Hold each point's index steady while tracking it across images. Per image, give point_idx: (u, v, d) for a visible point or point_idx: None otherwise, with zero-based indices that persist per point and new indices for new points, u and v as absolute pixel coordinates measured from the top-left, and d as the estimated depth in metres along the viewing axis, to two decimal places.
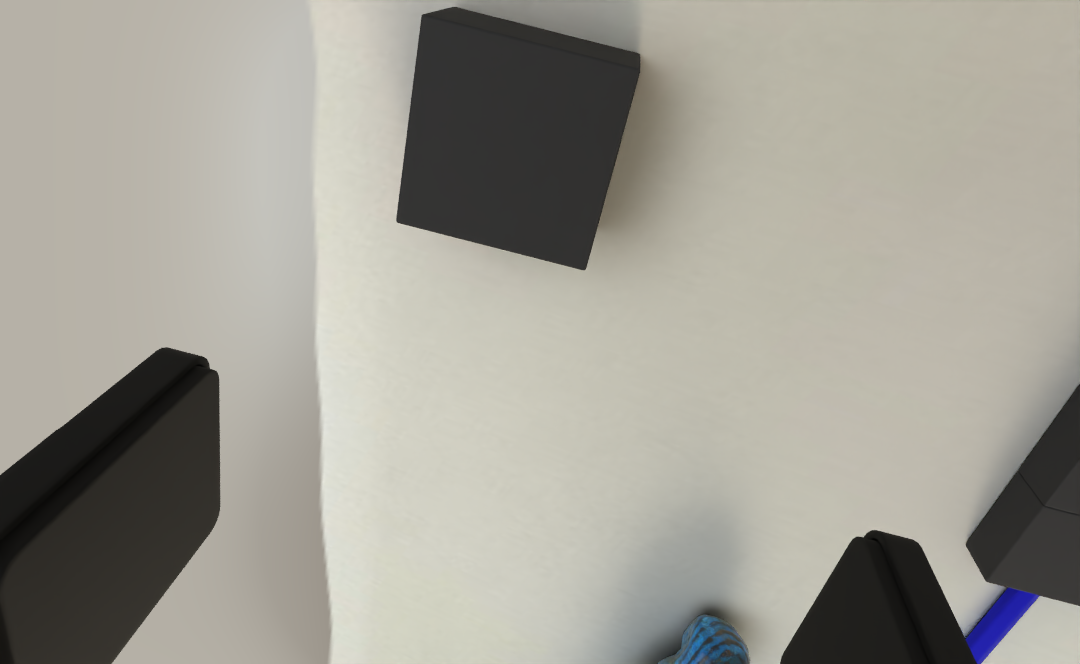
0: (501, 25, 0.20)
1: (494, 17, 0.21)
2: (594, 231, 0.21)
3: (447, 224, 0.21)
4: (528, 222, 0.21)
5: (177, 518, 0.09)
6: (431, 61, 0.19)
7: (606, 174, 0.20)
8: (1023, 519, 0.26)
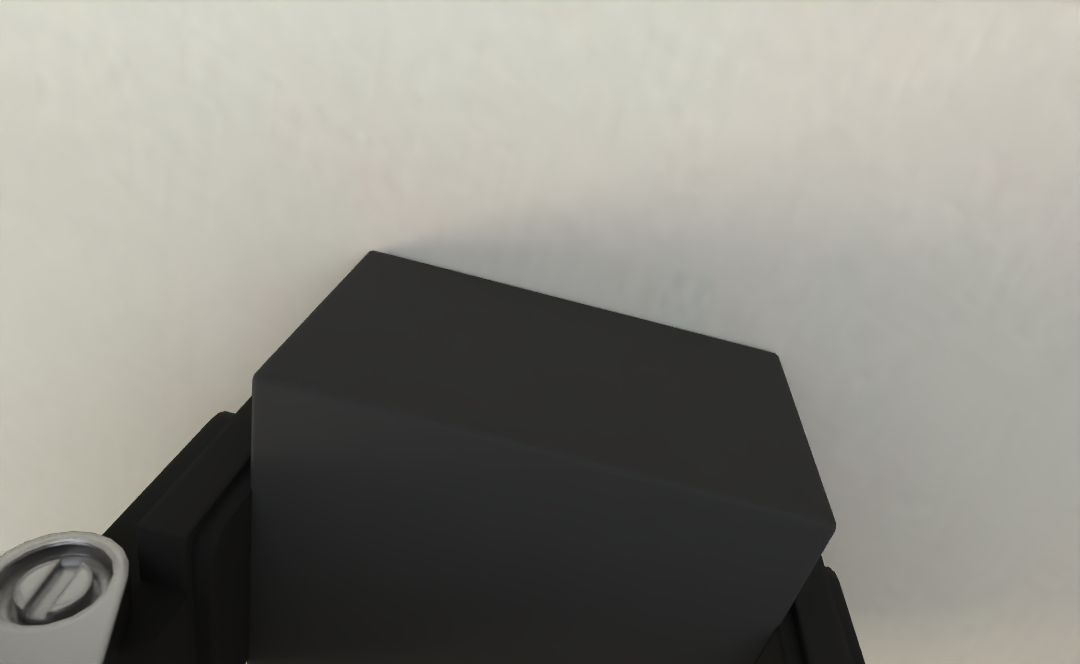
0: None
1: None
2: None
3: (280, 503, 0.08)
4: (329, 656, 0.09)
5: None
6: (714, 531, 0.07)
7: None
8: None
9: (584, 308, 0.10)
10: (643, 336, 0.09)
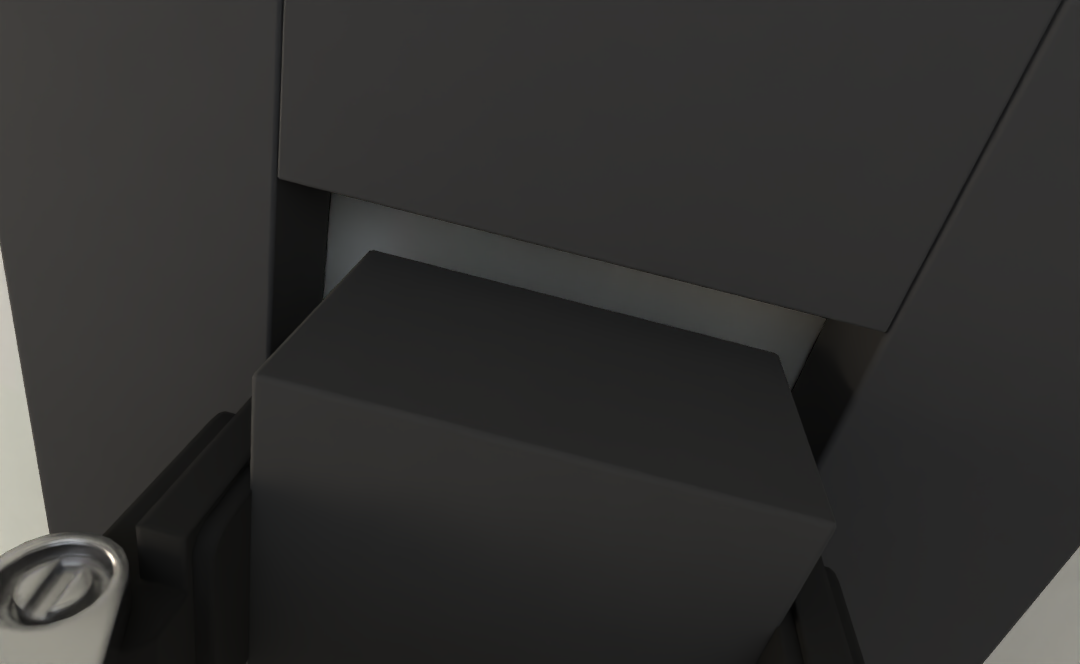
0: None
1: None
2: None
3: (280, 502, 0.08)
4: (328, 655, 0.09)
5: None
6: (714, 530, 0.07)
7: None
8: None
9: (584, 307, 0.10)
10: (643, 336, 0.09)
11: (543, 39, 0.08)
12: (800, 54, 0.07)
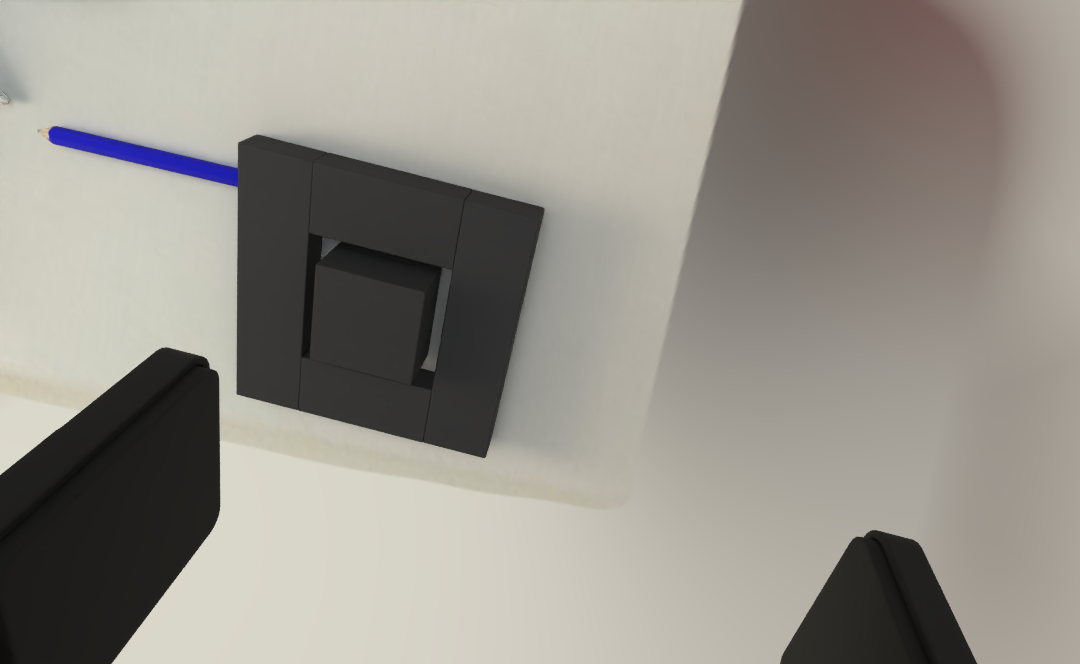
0: (429, 308, 0.39)
1: (437, 290, 0.40)
2: None
3: (320, 292, 0.38)
4: (330, 333, 0.39)
5: (177, 518, 0.09)
6: (403, 294, 0.37)
7: (361, 370, 0.40)
8: (297, 155, 0.36)
9: (393, 256, 0.40)
10: (405, 262, 0.39)
11: (366, 205, 0.37)
12: (418, 209, 0.36)
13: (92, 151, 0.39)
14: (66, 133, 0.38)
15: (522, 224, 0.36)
